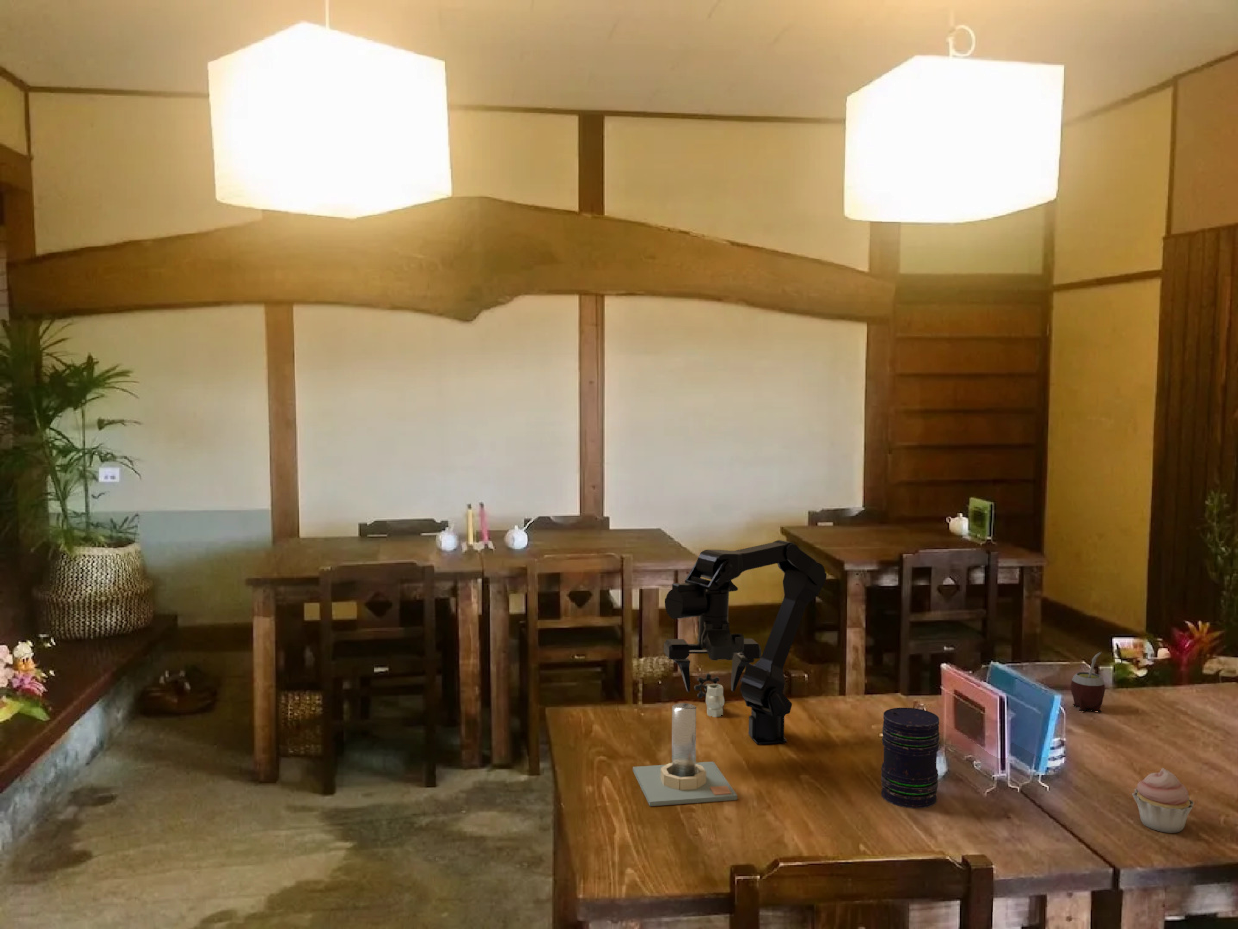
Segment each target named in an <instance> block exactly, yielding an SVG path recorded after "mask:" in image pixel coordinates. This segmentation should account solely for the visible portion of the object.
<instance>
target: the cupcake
mask: <svg viewBox="0 0 1238 929" xmlns="http://www.w3.org/2000/svg"><path fill="white" fill-rule="evenodd" d="M1133 791H1134V792H1133V793H1131V795H1132V797H1133V799H1134V801H1135V803H1136V804H1137V808H1138V813H1139V817H1140V821H1141V823H1142V824H1143V825H1144V826H1145V827H1146V828H1148V829H1151V830H1153V831H1158V832H1161V833H1169V834H1170V833H1171V834H1175V833H1180V832H1181V831H1183V830H1184V828H1185V826H1186V823H1187V820H1188V817H1189V816H1188V815H1189V814H1190V812H1191V811H1192V809H1193V808H1194V804H1195V802H1194V801H1193V800H1191V799H1190V797H1189V791H1188V790H1187V787H1186V786H1185V785H1184V784H1183V783H1181V782H1180V780H1179V779H1178V777H1177V776H1176V775H1175V774H1174V773H1173V772H1171V771H1169V770H1168V769H1165V768H1164V767H1162V768H1161V769H1160V771H1159V772H1152V773H1151V772H1150V773H1149V774H1148V775H1147V776H1146V777H1144V778H1143V779H1142V780H1140V781H1139V782H1138V783H1137V785H1136V788H1134V790H1133Z"/></svg>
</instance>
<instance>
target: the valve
mask: <svg viewBox="0 0 1238 929" xmlns="http://www.w3.org/2000/svg"><path fill="white" fill-rule="evenodd" d="M697 681H698V683H699V684H695V685H694V687H693V688H694V690H695V691H696V692H697V691H699V692H698V693H697V698H698V699H700V700H701V699H702V698H703V697H705V704H706V715H707V716H708V717H711V716H712V717H713V718H718V717H722V716H721V715H723V716H724V708H723V707H724V705H725V697H724V687H723V685H722V684H719V683H718V682H720V678H719V676H714V678H712V675H711V674H710V673H709V672H708V673H706V674H705V678H703V677H702V676H698V677H697ZM706 682H712V683H711V684H710V683H706ZM704 683H706V684H704ZM702 689H704V691H705V692H704V691H703V690H702Z"/></svg>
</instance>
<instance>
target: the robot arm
mask: <svg viewBox="0 0 1238 929" xmlns="http://www.w3.org/2000/svg"><path fill="white" fill-rule="evenodd" d="M775 564H776V565H777V567H778V568H779V569H780V571H781V572H782V573H783V574H784V575H783V578H782V587H783V594H784V595H783V596H784V597H783V599H782V602H781V605H780V608H779V610H778V613H777V615H776V618H775V620H774V623H773V626H772V628H771V629H770V630H771V631H770V633H769V635H768V638H767V641H766V644H765V646H764V649H763V652H762V647H761V645H760V644H759V643H758V642H757V641H755V640H754V639H753V638H745V636H744V634H743V633H731V631H730V622H729V603H730V602H729V601H730V600H729V599H730V592H737V591H738V590H739V588H738V587H737V586H736V584H734V582H732V581H733V580H735V579H737V578H739V577H740V576H741V574H742V573H744V572H746V571H749V570H750V571H751V570H754V569H758V568H763V567H767V566H770V565H775ZM827 576H828V575H827V573H826V569H825V567H824V565H823V564H822V563H820V562H817V561H816V560H815V558H812V557H811V556H810V555H808V554H807V553H805V552H804V551H803V550H801V549H800V548H799V546H798V545H796V544H795V543H794V542H793V541H792V542H791V541H786V540H782V539H781V540H780V539H778V540H775V541H773V542H768V543H764V544H760V545H755V546H750V547H746V548H742V549H741V548H740V549H736V550H727V549H726V550H725V549H704V550H702V551H700V553H699V555H698V557H697V560H696V561H695V563H694V564H693V566H692V568H691V570H690V571H689V572H688V575H687V577H686V578H685V579H684V583H679V582H675V583H672V584H671V589H670V590H669V591H668V592H667V594H666V597H665V598H664V609H665V611H666V613H667V615H668V617H669V618H670V619H673V620H681V619H688V618H695V617H697V622H698V634H697V638H696V640H697V643H688V642H687V641H686V640H685V638H672V639H671V638H667V639H666V640H665V641H664V643H663V653H664V655H665V656H666V658H667V659H668V660H672V661H673V662H674V663H675V664H677V665H678V668H679V670H680V674H681V676H682V680H683V682H684V686H685V689H686V692H688V693H690V692H691V676H690V674H691V673H690V672H691V671H690V665H691V660H690V659H689V656H690V655H691V654H707V655H708V659H710V660H711V661H718V660H726V661H731V663H732V664H731V673H730V674H731V677H730V678H731V679H730V689H731V692H735V691H736V688H737V686H738V684H739V681H740V683H741V684H740V690H739V691H740V693H741V696H742V698H743V700H744V702H745V706H746V707H748V708H751V710H750V711H751V712H750V713H751V715H749V716H748V733H747V734H748V735H749V736H750V737H751V739H752V740H753V741H754V743H756V745H770V744H771V745H772V744H782V743H784V744H786V743H787V742H788V740H787V738H786V737H785V716H786V715H789V714H790V713H791V709H792V707H793V702H791V701H790V699H788V697H787V696H786V695H785V694H784V693H783V692H784V688H785V684H786V682H785V675H784V666H785V663H786V660H787V658H788V656H789V653H790V650H791V648H792V645H793V642H794V639H795V636H796V634H797V632H798V629H799V627H800V624H801V621H802V619H803V616H804V613H805V611H806V608H807V606H808V604H809V603H811V602H812V601H813V600H814V599H815V598H817V596H819V595H820V592H821V591H822V588H823V586H824V585H825V583H826V581H827ZM756 659H757V660H758V661H757V662H755V660H756ZM754 662H755V663H754ZM752 663H754V664H752ZM743 672H744V673H743ZM742 675H743V676H742ZM741 676H742V677H741Z"/></svg>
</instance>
